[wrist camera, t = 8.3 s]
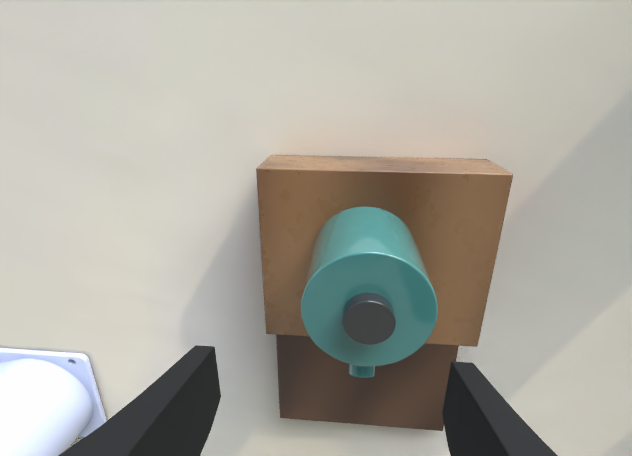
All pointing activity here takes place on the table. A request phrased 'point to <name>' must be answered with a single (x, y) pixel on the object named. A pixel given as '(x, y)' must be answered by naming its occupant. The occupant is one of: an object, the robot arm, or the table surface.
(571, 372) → the table surface
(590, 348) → the table surface
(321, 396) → the tier stand
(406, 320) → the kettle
